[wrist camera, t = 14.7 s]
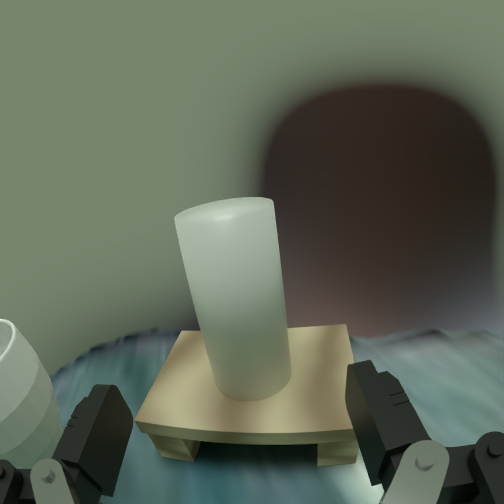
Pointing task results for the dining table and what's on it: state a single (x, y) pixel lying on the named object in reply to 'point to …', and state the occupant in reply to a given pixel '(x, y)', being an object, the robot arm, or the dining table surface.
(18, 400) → the cup
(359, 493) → the dining table surface
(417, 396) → the dining table surface
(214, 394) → the shelf stand
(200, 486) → the dining table surface
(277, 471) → the dining table surface
